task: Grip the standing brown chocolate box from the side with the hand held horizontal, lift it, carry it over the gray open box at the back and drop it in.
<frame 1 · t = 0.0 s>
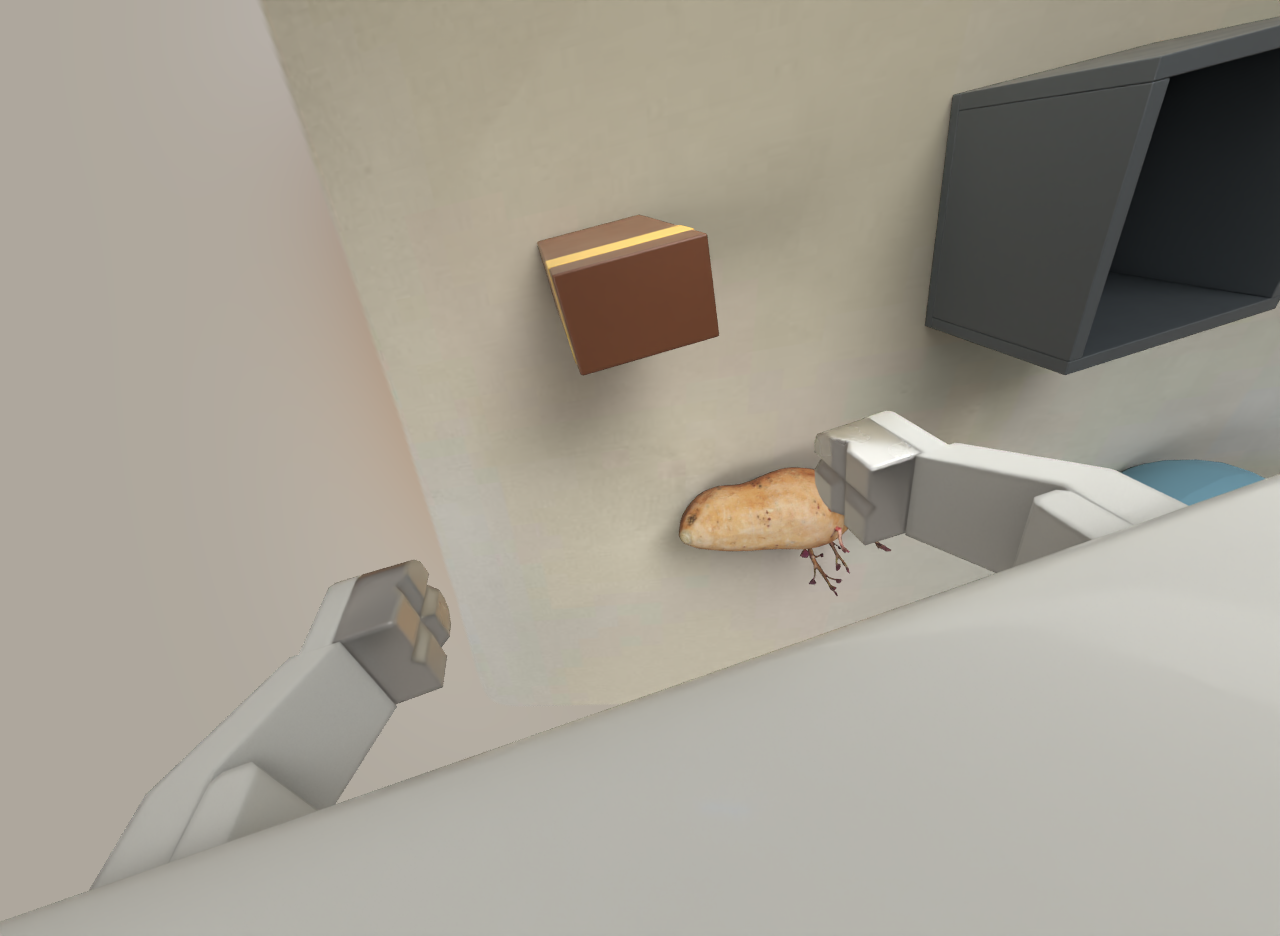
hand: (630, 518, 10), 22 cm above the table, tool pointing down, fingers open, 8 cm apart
vase: (1108, 505, 52), on the table
gray open box: (1029, 198, 32), on the table
vegetable: (754, 511, 41), on the table
chocolate box: (598, 265, 28), on the table
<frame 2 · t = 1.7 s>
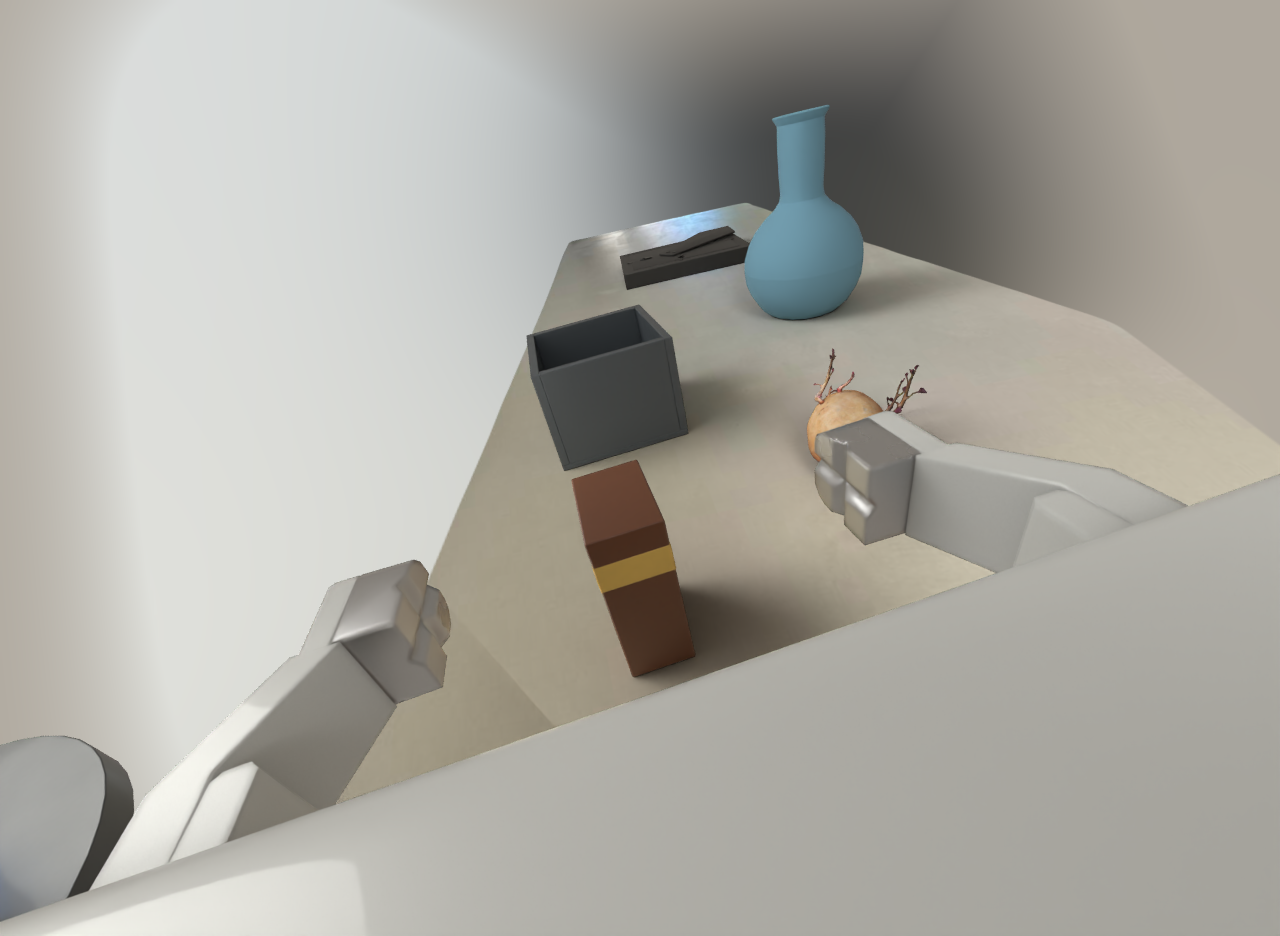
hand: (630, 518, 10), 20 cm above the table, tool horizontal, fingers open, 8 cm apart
vase: (803, 309, 74), on the table
gray open box: (615, 423, 56), on the table
vegetable: (880, 470, 40), on the table
chocolate box: (652, 628, 31), on the table
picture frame: (682, 265, 116), on the table
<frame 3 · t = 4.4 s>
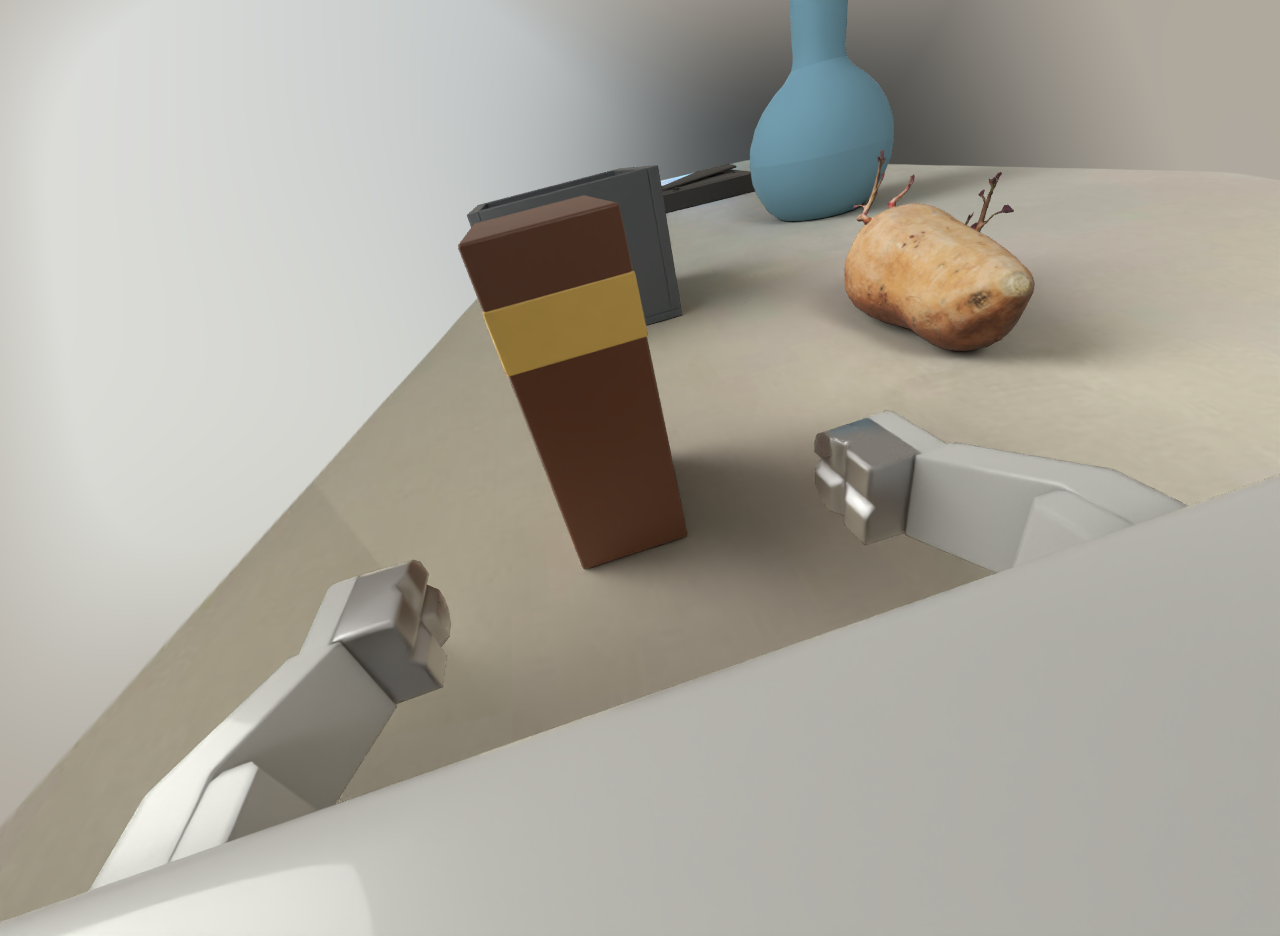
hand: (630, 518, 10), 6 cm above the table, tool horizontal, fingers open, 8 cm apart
vase: (819, 213, 63), on the table
gray open box: (590, 317, 44), on the table
vegetable: (949, 319, 28), on the table
chocolate box: (620, 506, 20), on the table
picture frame: (678, 204, 104), on the table
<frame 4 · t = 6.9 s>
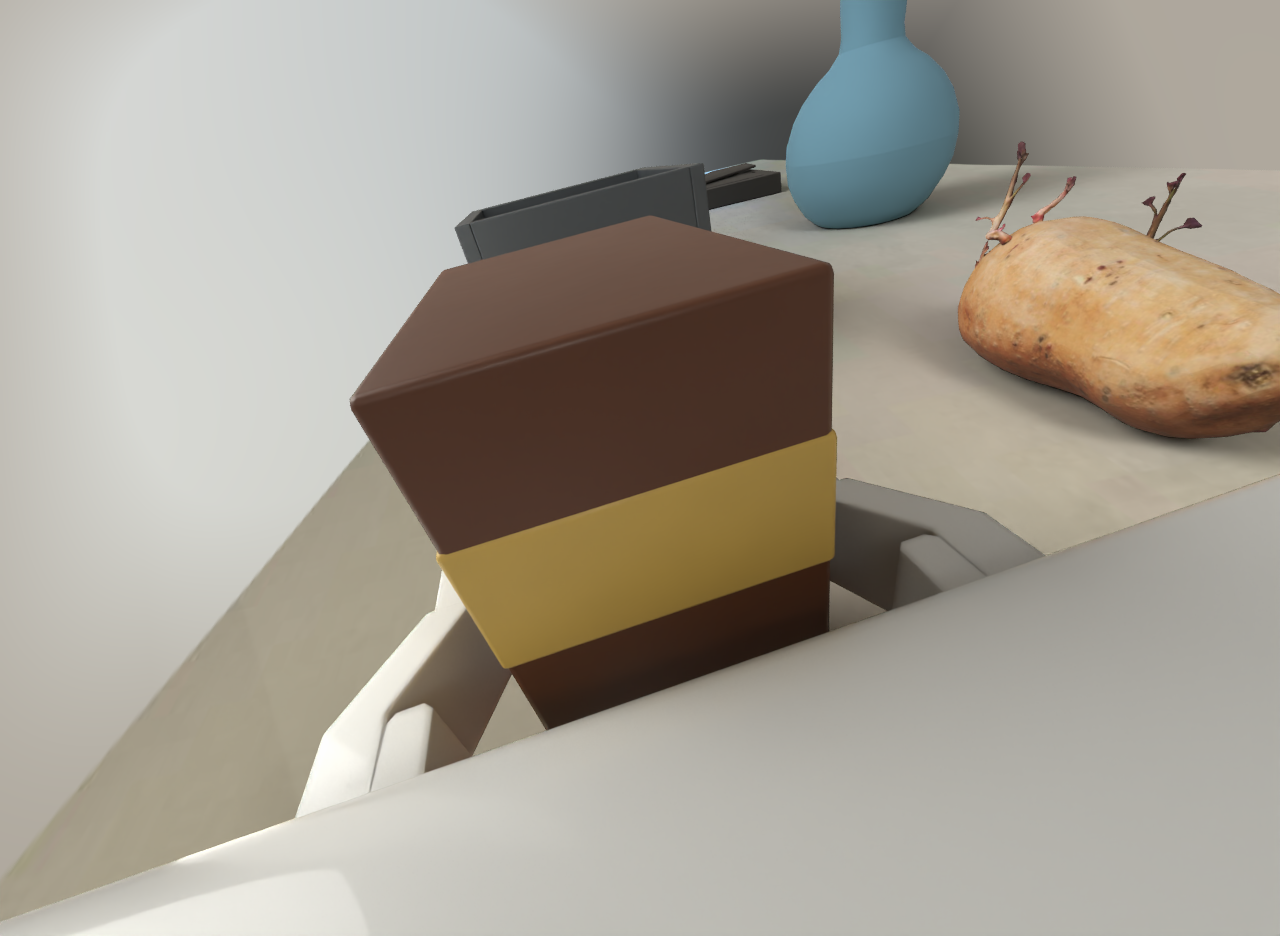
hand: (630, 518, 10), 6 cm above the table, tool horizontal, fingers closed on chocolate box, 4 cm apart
vase: (863, 219, 55), on the table
gray open box: (608, 347, 37), on the table
vegetable: (1114, 374, 21), on the table
chocolate box: (690, 717, 12), on the table, touching gripper
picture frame: (692, 206, 97), on the table
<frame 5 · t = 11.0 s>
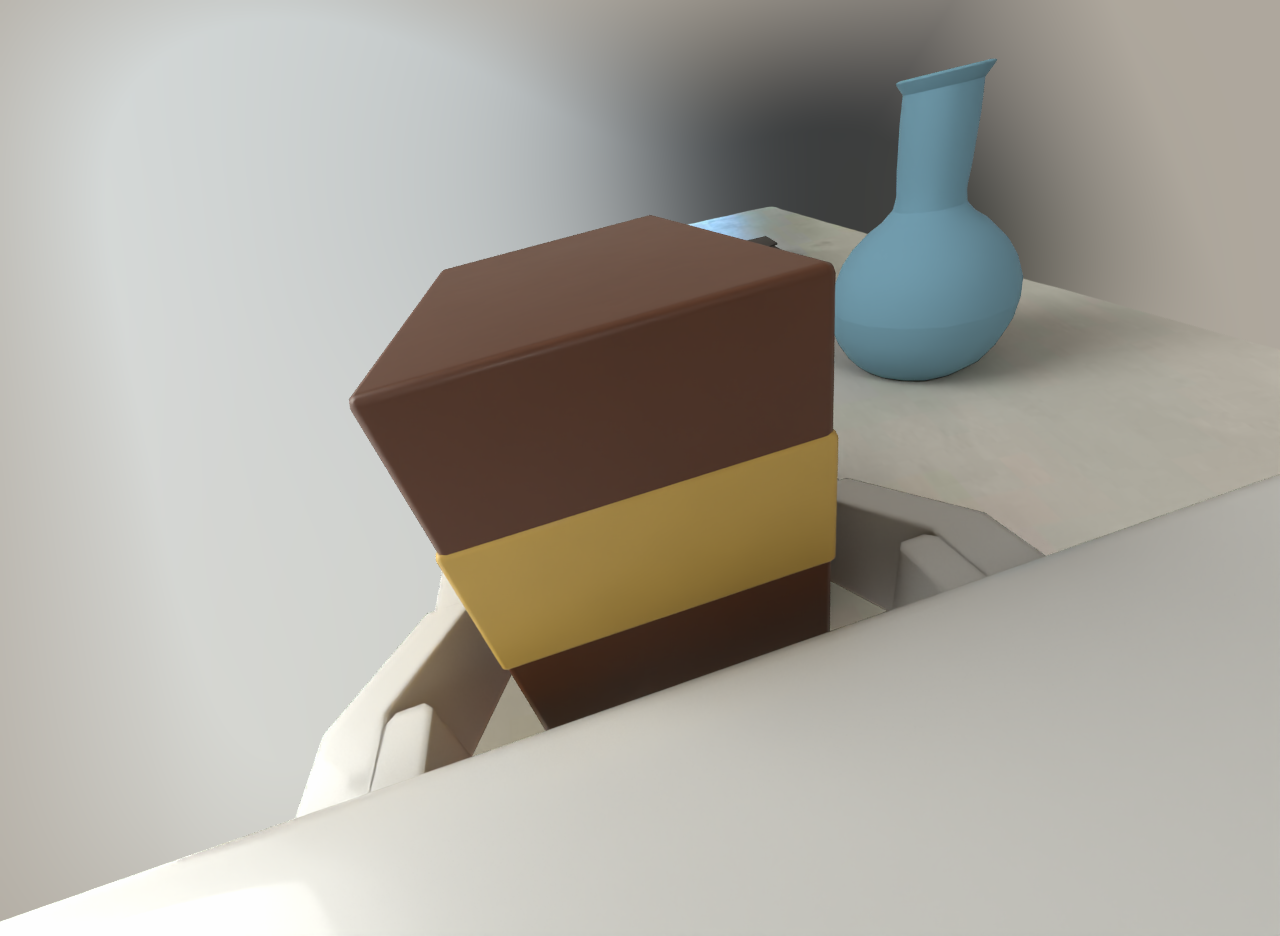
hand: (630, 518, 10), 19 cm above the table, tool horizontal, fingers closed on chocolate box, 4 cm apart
vase: (910, 362, 52), on the table
chocolate box: (690, 718, 12), point 13 cm above the table, touching gripper
when the fingers open (15 cm above the table, at t = 15.3 s): chocolate box drops 8 cm, resting on gray open box.
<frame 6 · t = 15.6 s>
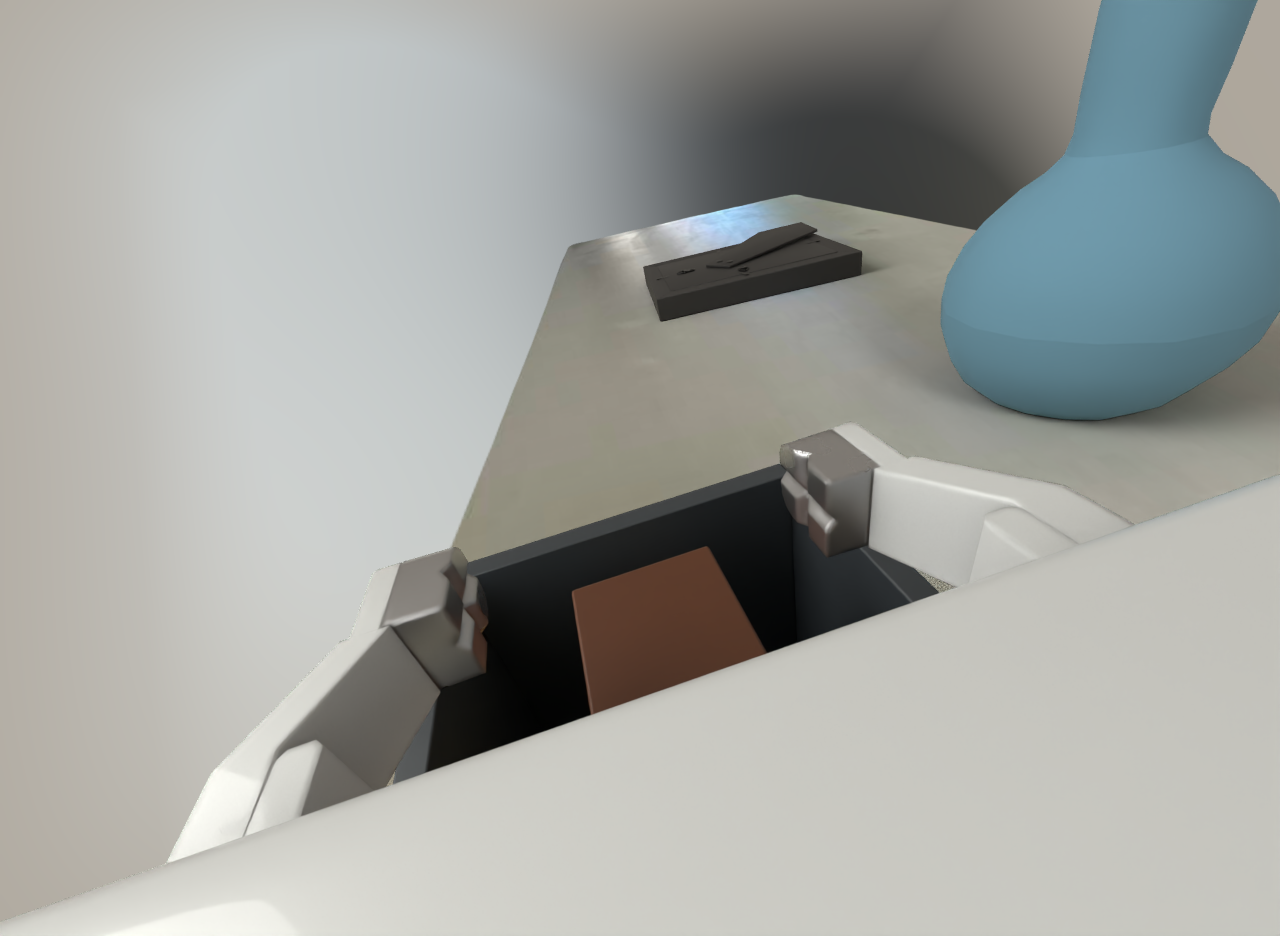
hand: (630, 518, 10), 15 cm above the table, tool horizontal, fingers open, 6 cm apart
vase: (1058, 389, 36), on the table
gray open box: (726, 849, 17), on the table
chocolate box: (724, 844, 17), point 1 cm above the table, touching gray open box
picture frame: (739, 281, 77), on the table
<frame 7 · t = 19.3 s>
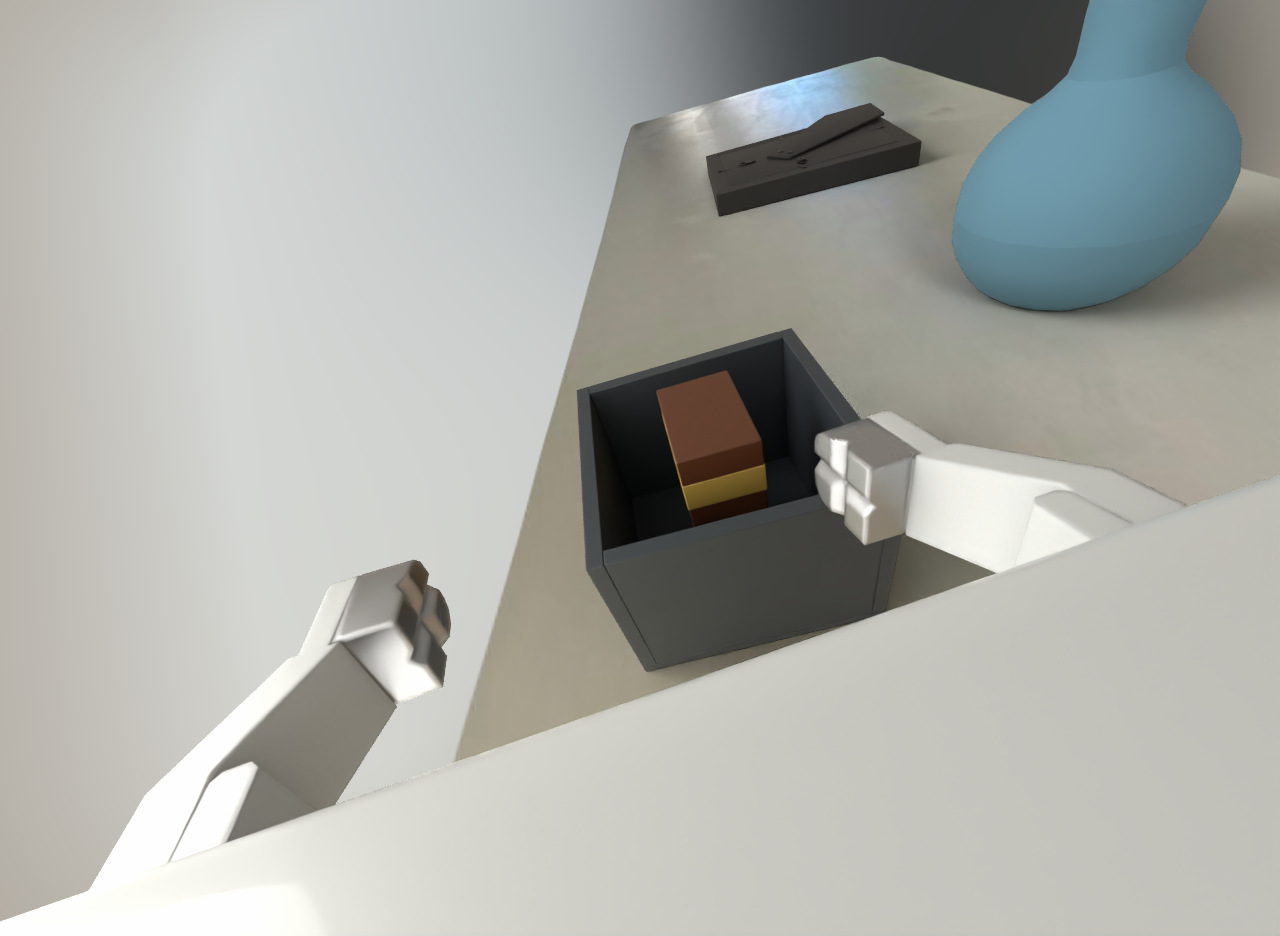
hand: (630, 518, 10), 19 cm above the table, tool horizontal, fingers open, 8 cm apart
vase: (1047, 284, 43), on the table
gray open box: (731, 547, 32), on the table
chocolate box: (730, 542, 31), point 1 cm above the table, touching gray open box
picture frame: (798, 172, 80), on the table
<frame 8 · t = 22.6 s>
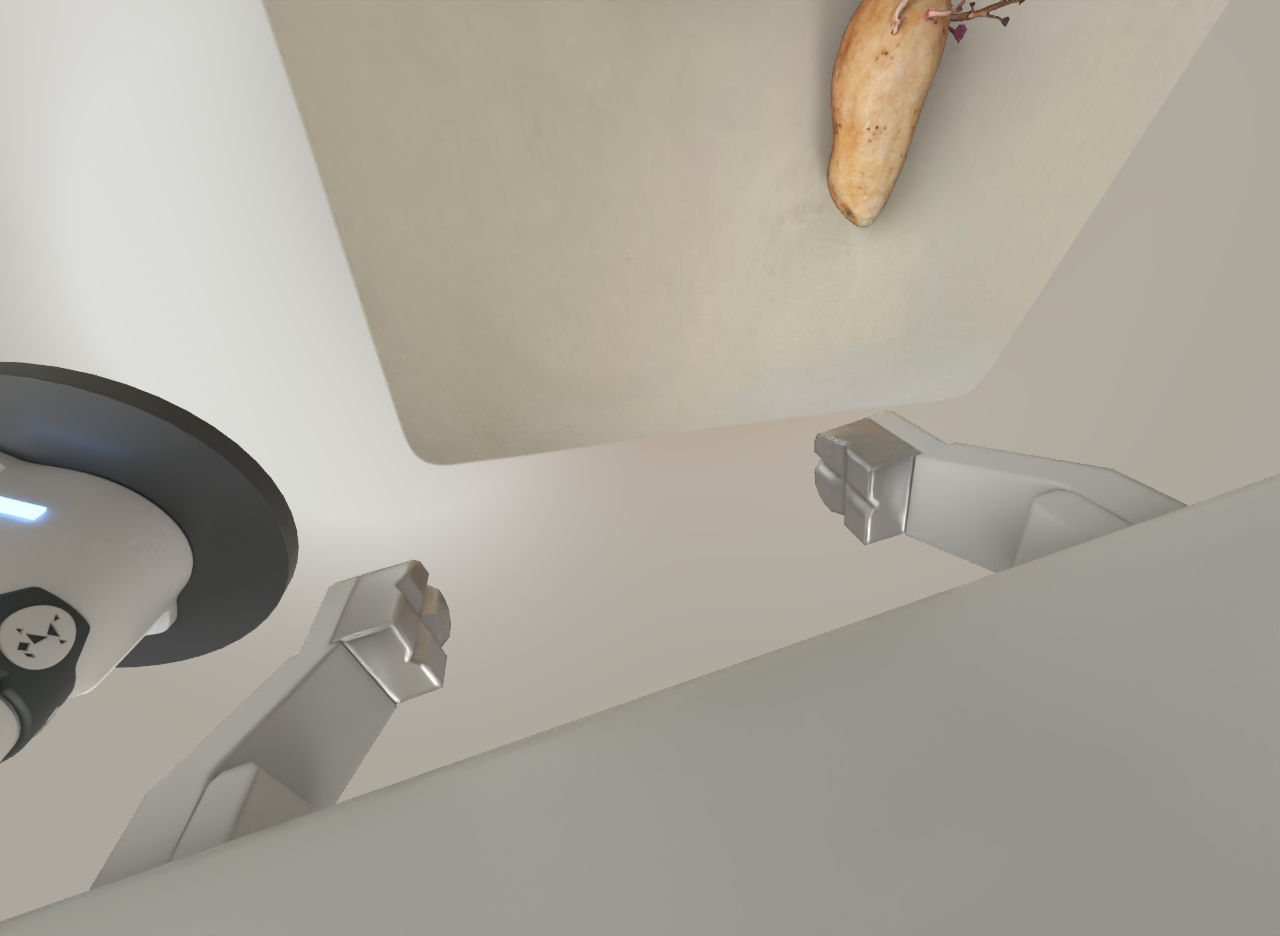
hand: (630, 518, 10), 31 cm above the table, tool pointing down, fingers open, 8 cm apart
vegetable: (878, 103, 35), on the table
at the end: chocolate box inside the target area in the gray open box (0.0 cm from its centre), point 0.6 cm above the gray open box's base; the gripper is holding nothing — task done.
